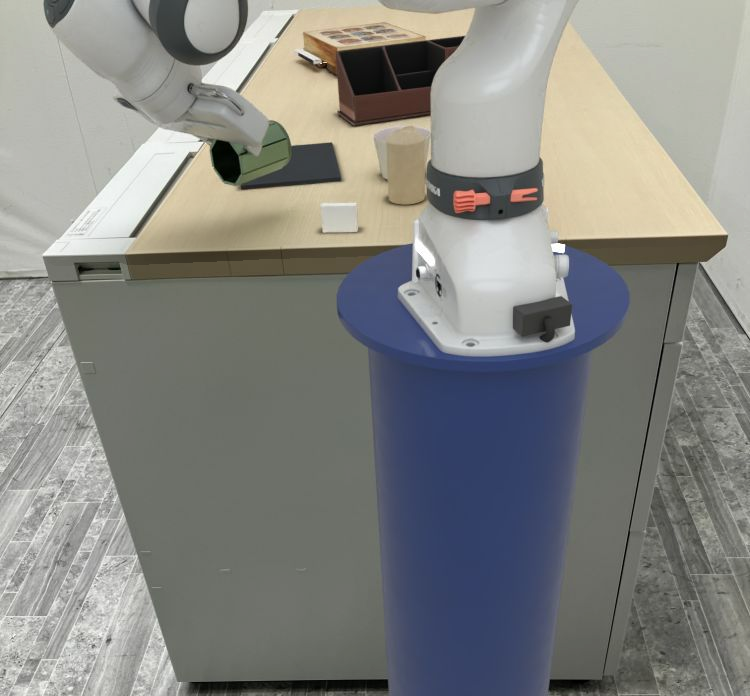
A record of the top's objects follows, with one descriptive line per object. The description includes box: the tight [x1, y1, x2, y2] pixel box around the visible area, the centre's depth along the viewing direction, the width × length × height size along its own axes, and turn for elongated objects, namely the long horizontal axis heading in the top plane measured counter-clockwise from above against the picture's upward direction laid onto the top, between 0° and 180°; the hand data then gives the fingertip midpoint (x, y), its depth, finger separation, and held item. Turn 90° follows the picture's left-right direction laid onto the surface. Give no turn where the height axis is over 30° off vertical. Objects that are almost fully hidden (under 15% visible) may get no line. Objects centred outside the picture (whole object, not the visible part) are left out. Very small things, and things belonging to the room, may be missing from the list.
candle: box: [386, 125, 426, 205], centre depth 121 cm, size 6×6×10 cm
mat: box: [240, 141, 342, 190], centre depth 139 cm, size 20×16×1 cm
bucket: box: [209, 119, 292, 187], centre depth 113 cm, size 10×6×6 cm, turn 141°
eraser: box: [319, 202, 359, 233], centre depth 114 cm, size 1×5×4 cm, turn 86°
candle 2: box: [372, 125, 431, 181], centre depth 130 cm, size 9×9×6 cm
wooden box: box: [293, 21, 427, 76], centre depth 199 cm, size 25×6×28 cm
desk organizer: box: [336, 35, 466, 127], centre depth 160 cm, size 10×29×11 cm, turn 109°
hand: (237, 146), depth 111 cm, fingers closed on bucket, 6 cm apart
